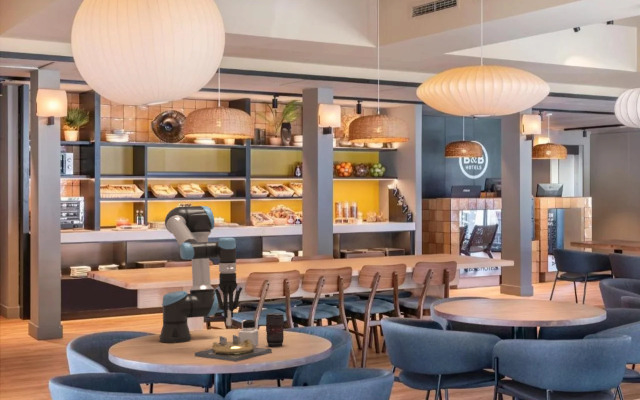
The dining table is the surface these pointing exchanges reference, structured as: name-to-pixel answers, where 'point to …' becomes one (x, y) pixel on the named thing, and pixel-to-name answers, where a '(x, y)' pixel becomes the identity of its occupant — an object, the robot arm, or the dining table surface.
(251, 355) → the base plate
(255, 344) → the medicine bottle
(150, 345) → the dining table surface
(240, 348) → the ring nut
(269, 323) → the camera lens
